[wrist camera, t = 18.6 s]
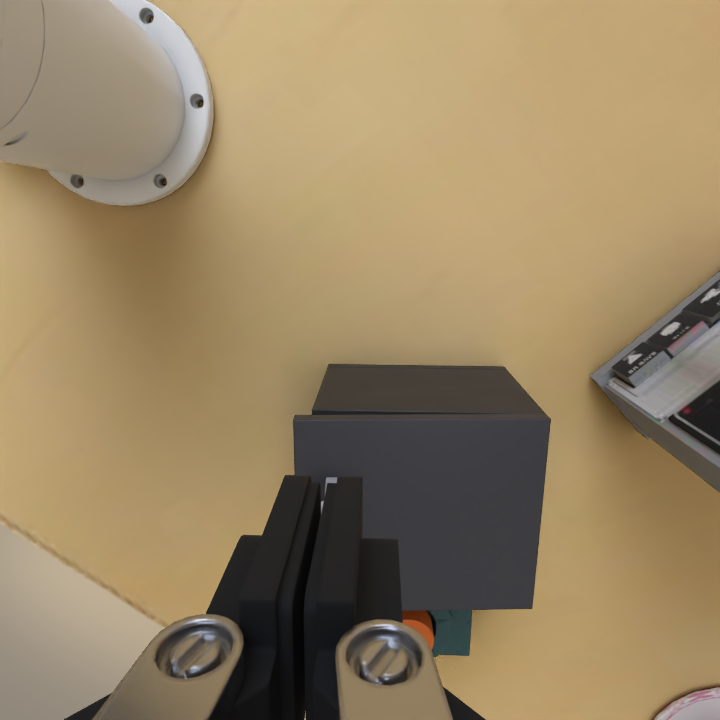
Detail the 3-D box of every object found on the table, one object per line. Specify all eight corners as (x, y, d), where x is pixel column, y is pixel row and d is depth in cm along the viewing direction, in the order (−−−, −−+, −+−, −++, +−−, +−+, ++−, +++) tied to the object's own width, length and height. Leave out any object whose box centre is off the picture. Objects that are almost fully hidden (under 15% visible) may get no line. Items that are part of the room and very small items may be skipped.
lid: (299, 603, 31) (290, 678, 26) (294, 414, 28) (283, 456, 23) (527, 599, 31) (563, 673, 26) (545, 413, 29) (589, 454, 23)
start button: (382, 643, 40) (382, 661, 38) (383, 602, 39) (383, 619, 37) (430, 644, 40) (433, 663, 38) (432, 603, 39) (435, 620, 37)
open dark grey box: (329, 508, 41) (314, 593, 32) (328, 364, 39) (311, 409, 29) (493, 512, 41) (528, 599, 31) (504, 366, 38) (546, 413, 29)
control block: (343, 631, 44) (339, 670, 40) (342, 545, 42) (339, 578, 38) (464, 635, 44) (473, 675, 40) (470, 548, 42) (479, 582, 38)
